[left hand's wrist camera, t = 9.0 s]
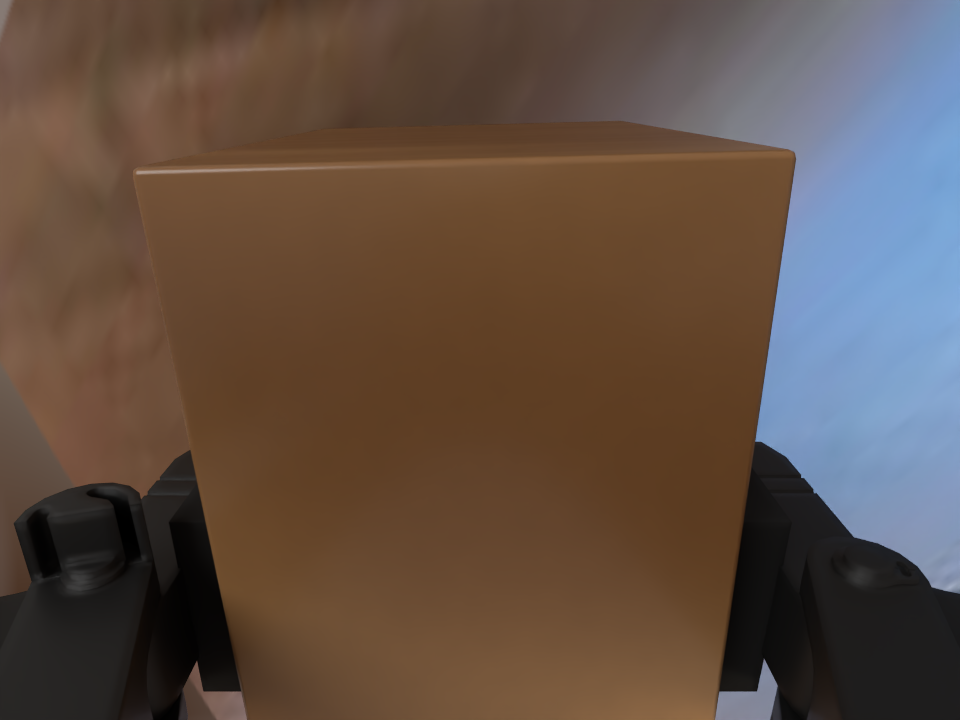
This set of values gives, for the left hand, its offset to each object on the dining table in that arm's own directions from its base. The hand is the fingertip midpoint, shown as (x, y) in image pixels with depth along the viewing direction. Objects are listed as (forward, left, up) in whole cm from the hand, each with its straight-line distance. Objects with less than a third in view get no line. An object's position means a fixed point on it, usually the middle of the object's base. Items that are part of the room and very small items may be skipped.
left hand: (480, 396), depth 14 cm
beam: (-10, +30, -1) cm, 32 cm away
